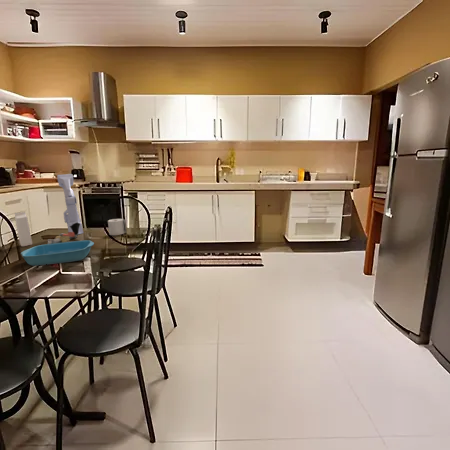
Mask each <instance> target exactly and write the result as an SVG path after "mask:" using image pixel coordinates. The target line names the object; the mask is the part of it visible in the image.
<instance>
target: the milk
mask: <svg viewBox="0 0 450 450" xmlns="http://www.w3.org/2000/svg"><path fill="white" fill-rule="evenodd" d="M14 220H15V221H14V222H15V225H16V230H17V234H18V235H17V236H18V239H19V245H20V246H21V247H27V246H32V245H33V240H32V235H31V230H30V225H29V220H28V216H27V213H26V211H21V212H15V213H14Z"/></svg>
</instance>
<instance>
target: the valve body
mask: <svg viewBox="0 0 450 450" xmlns="http://www.w3.org/2000/svg"><path fill="white" fill-rule="evenodd" d="M77 238H78V235H75V236H73V237H71V236H60V235H57V236H55V238H54V239H53V238H52V239H51V238H48V239H47V244H53V243H63V242H71V241H70V240H72V239H77Z"/></svg>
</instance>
